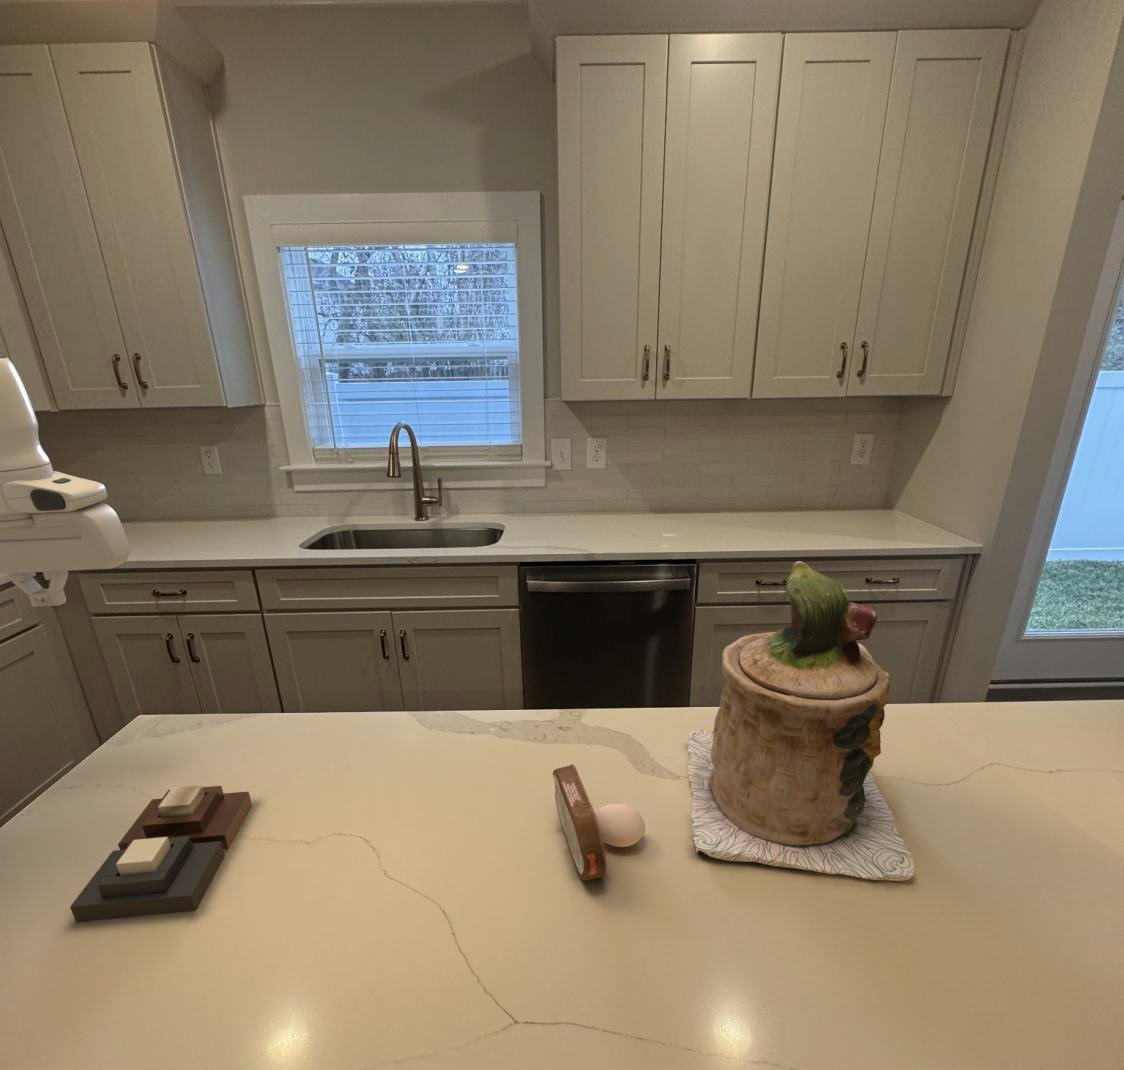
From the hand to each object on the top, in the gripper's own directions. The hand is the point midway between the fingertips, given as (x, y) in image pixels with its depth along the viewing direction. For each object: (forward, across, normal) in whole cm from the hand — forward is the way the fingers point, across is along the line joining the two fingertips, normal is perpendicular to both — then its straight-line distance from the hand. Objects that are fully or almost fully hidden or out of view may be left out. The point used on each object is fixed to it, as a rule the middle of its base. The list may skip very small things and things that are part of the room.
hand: (50, 604), depth 76 cm
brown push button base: (+27, +15, -11) cm, 33 cm away
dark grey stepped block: (+27, +15, -20) cm, 37 cm away
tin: (+27, +63, -20) cm, 71 cm away
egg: (+25, +71, -21) cm, 78 cm away
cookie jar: (+27, +90, -16) cm, 96 cm away
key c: (+24, +15, -20) cm, 34 cm away
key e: (+24, +15, -11) cm, 30 cm away
